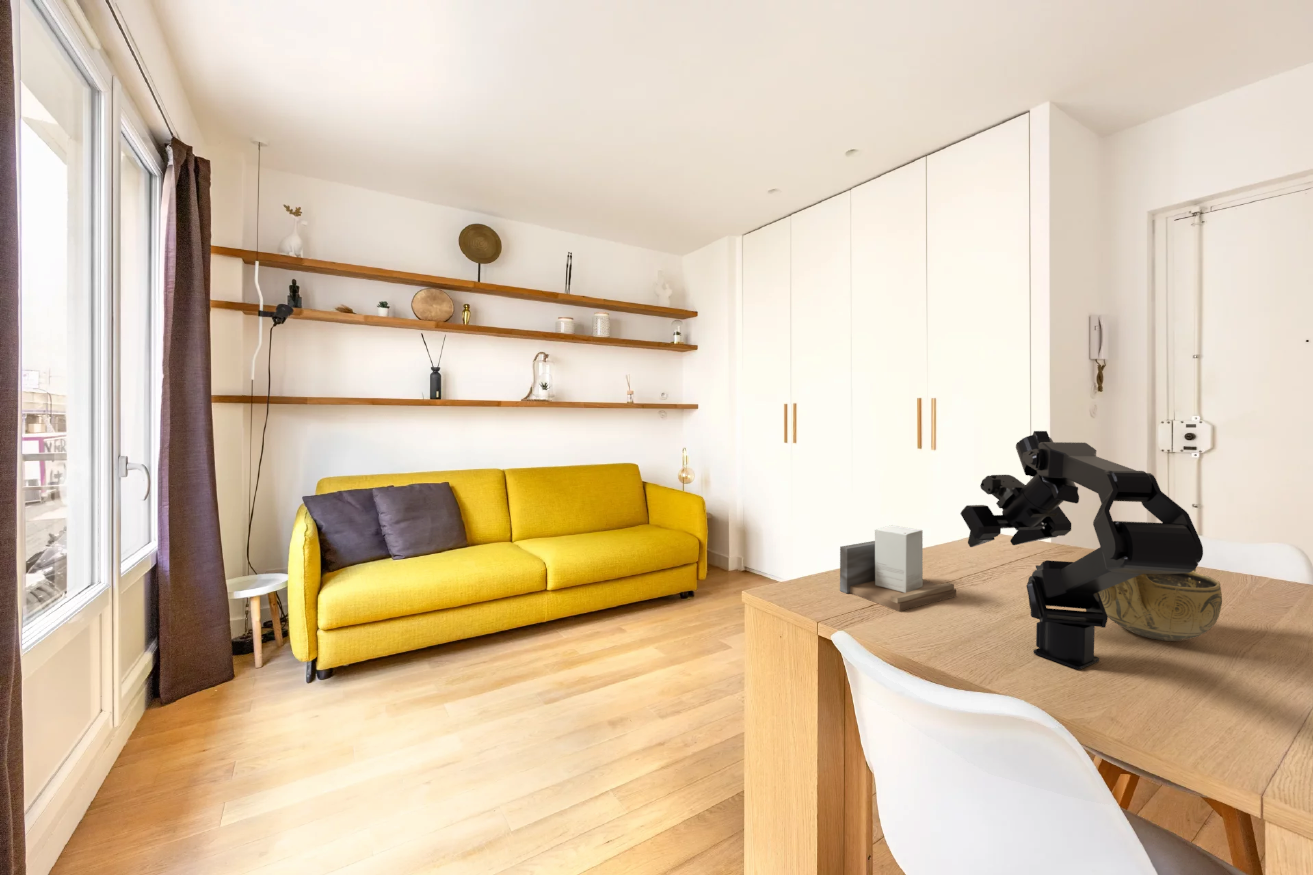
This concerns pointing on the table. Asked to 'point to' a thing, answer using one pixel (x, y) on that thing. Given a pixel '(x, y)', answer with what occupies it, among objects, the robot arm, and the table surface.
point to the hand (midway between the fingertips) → (991, 544)
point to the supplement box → (899, 558)
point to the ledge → (861, 582)
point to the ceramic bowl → (1165, 605)
